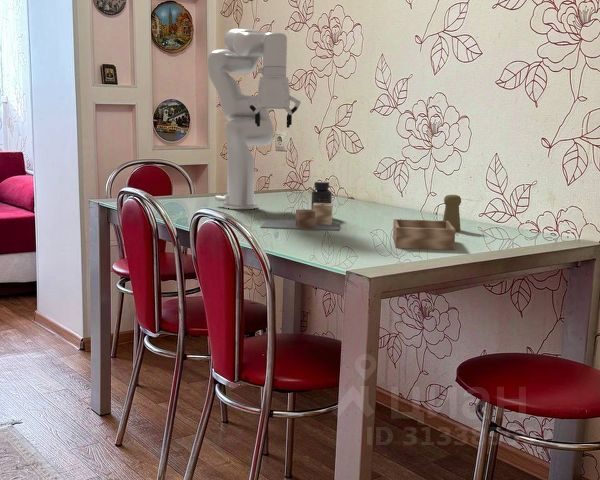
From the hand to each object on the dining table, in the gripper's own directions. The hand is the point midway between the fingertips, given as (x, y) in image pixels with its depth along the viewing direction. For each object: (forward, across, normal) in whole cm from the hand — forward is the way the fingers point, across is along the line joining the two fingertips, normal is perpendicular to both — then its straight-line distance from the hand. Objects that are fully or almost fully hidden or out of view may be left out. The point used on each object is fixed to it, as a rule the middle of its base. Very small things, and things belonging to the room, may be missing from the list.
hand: (273, 126), depth 251 cm
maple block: (+23, +17, -8) cm, 30 cm away
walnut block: (+29, +12, -17) cm, 36 cm away
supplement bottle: (+30, +16, +5) cm, 35 cm away
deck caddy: (+29, +46, -38) cm, 67 cm away
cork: (+30, +57, -12) cm, 66 cm away
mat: (+30, +11, -12) cm, 34 cm away
